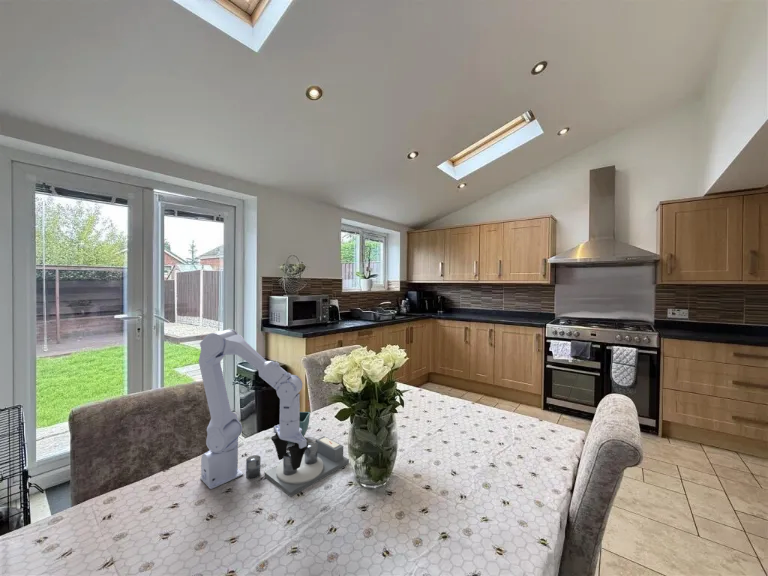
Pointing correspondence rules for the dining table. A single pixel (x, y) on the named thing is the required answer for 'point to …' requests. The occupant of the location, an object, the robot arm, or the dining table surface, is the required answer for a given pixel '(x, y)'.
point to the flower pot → (303, 422)
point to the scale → (310, 468)
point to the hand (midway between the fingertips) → (289, 463)
